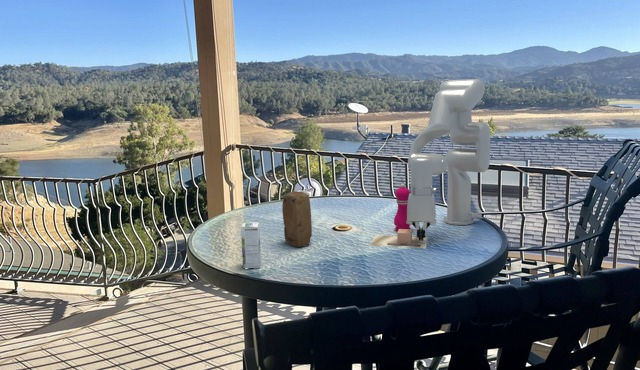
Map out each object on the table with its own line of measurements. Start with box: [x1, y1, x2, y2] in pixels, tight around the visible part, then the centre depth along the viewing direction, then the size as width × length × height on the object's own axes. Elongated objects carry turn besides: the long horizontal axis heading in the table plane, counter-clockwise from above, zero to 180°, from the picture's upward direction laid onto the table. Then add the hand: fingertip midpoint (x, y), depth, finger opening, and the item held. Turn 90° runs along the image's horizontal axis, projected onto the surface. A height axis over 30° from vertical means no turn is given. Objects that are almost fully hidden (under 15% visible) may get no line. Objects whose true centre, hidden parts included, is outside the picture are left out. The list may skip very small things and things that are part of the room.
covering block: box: [396, 229, 413, 244], centre depth 175 cm, size 5×5×4 cm
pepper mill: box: [393, 183, 412, 232], centre depth 188 cm, size 7×7×20 cm
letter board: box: [370, 234, 428, 249], centre depth 176 cm, size 20×13×1 cm, turn 75°
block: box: [281, 190, 313, 248], centre depth 178 cm, size 11×8×20 cm
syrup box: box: [240, 221, 262, 269], centre depth 157 cm, size 6×6×14 cm
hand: (421, 239), depth 174 cm, fingers closed
